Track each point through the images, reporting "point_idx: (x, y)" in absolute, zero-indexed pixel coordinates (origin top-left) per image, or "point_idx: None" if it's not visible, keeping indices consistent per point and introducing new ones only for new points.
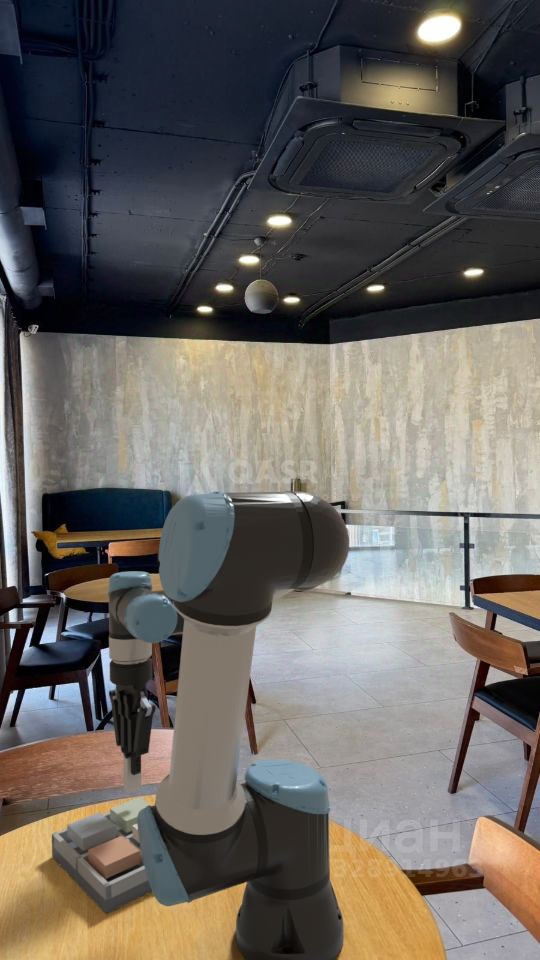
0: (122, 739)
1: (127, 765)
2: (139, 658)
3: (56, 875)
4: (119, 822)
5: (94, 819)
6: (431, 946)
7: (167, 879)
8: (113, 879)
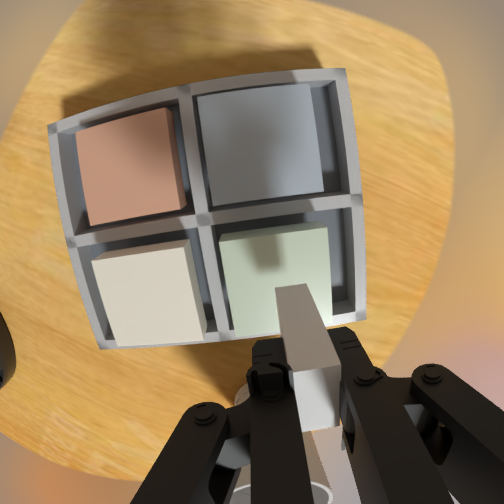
0: (385, 422)
1: (285, 345)
2: None
3: (252, 68)
4: (263, 230)
5: (289, 161)
6: None
7: None
8: None
